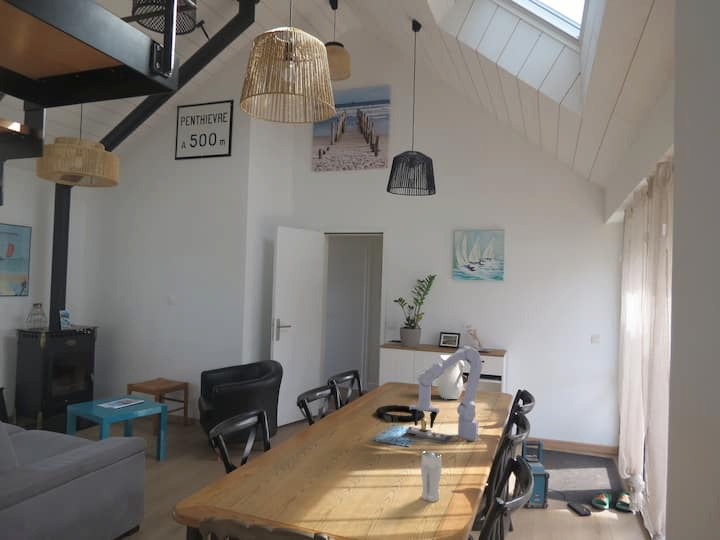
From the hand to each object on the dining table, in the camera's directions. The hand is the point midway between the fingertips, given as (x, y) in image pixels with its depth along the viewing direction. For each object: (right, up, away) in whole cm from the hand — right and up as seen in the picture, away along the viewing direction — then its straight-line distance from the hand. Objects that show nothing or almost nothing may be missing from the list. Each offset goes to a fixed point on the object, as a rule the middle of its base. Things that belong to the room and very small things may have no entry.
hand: (423, 426), depth 247 cm
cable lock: (-9, -7, +40) cm, 41 cm away
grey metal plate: (+1, -4, -1) cm, 5 cm away
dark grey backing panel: (+2, -6, -1) cm, 6 cm away
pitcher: (+30, -10, +90) cm, 96 cm away
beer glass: (-7, -3, -72) cm, 72 cm away
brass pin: (0, -5, 0) cm, 5 cm away
